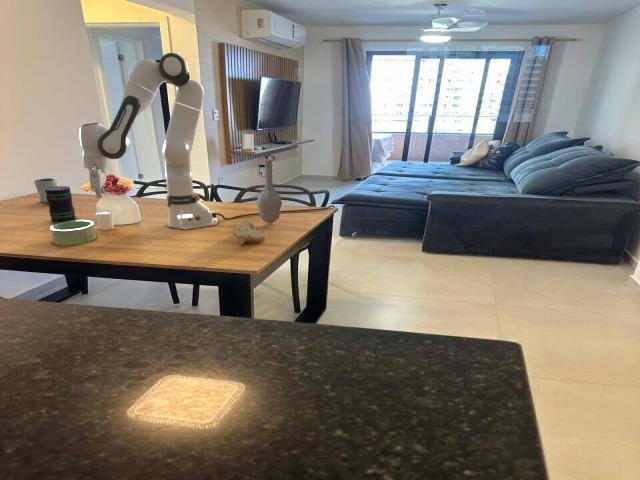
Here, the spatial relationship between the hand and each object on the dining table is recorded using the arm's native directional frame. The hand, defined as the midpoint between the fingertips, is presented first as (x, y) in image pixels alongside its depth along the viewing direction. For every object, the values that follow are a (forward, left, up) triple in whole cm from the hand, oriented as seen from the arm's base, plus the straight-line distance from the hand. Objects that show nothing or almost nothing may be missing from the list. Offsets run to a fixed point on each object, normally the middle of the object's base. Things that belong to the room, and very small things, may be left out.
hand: (100, 195), depth 164 cm
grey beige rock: (-54, +41, -15) cm, 70 cm away
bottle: (-70, +16, -15) cm, 74 cm away
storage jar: (+20, -21, -15) cm, 32 cm away
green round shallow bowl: (+10, +14, -15) cm, 22 cm away
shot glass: (0, 0, -15) cm, 15 cm away
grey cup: (+35, -67, -15) cm, 77 cm away
